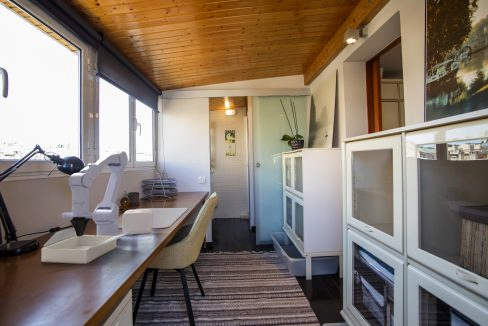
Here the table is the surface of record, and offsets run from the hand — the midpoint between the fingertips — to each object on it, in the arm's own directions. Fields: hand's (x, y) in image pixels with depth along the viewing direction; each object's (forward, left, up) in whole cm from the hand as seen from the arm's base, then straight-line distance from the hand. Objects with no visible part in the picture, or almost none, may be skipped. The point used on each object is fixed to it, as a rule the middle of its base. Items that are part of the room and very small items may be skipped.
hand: (80, 235), depth 100 cm
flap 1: (0, -5, +1) cm, 5 cm away
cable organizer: (-34, +6, -8) cm, 35 cm away
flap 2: (0, +14, -1) cm, 14 cm away
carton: (0, +1, -7) cm, 7 cm away
